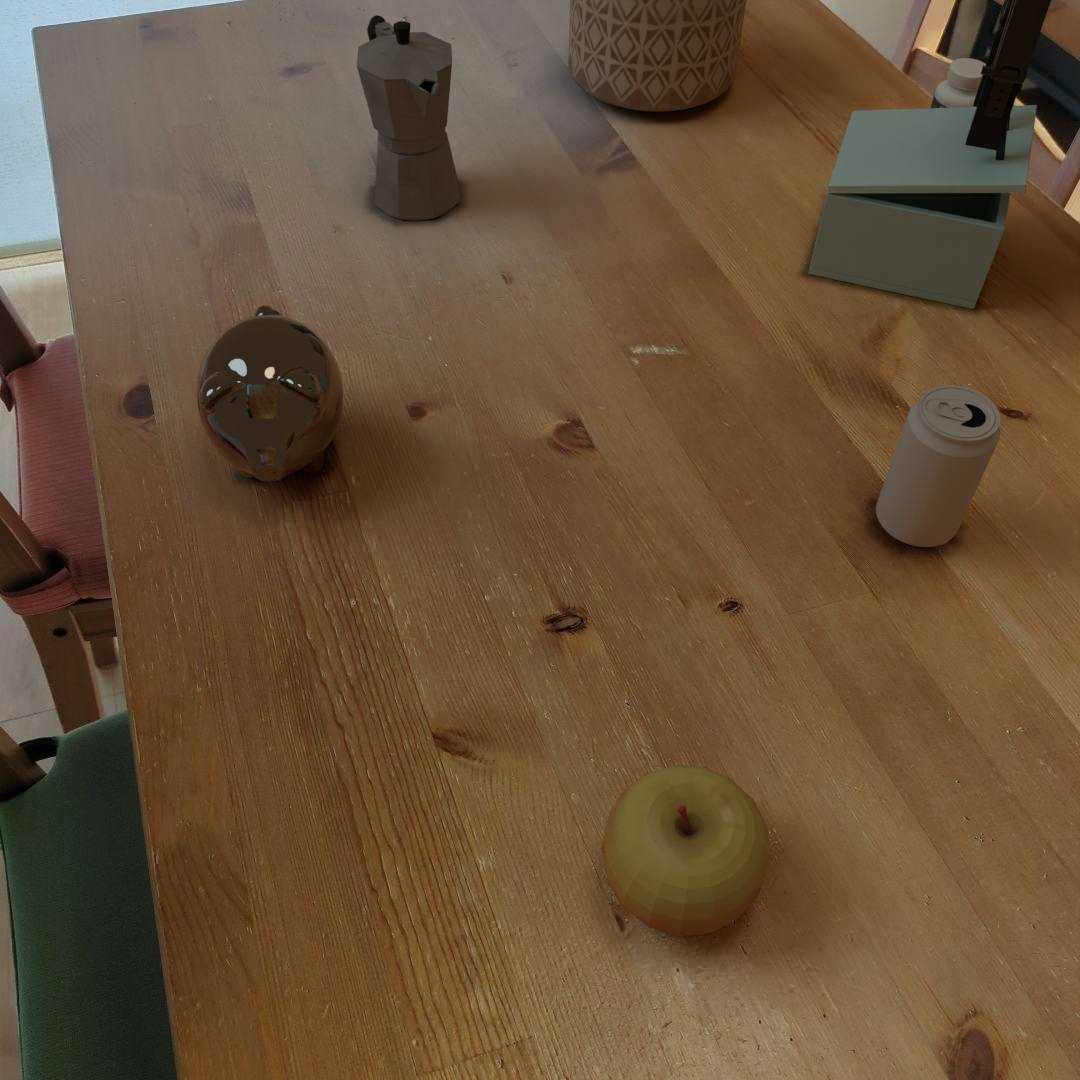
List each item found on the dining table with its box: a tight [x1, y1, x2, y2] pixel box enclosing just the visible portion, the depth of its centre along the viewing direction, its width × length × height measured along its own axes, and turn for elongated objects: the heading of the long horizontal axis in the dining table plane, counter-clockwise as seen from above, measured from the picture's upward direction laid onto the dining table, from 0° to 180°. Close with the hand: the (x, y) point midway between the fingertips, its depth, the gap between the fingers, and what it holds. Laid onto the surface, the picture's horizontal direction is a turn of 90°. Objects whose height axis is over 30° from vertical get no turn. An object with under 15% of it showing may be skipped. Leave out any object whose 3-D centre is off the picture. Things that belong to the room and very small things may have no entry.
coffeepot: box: [356, 14, 460, 222], centre depth 108 cm, size 15×9×18 cm, turn 26°
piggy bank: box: [195, 305, 344, 483], centre depth 87 cm, size 11×15×12 cm
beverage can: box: [875, 384, 1001, 548], centre depth 83 cm, size 6×6×12 cm
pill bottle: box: [930, 57, 986, 108], centre depth 117 cm, size 5×5×10 cm
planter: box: [567, 0, 748, 112], centre depth 123 cm, size 19×19×16 cm
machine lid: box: [827, 83, 1038, 194], centre depth 98 cm, size 16×14×9 cm
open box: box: [807, 191, 1011, 310], centre depth 106 cm, size 16×14×9 cm
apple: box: [601, 764, 771, 937], centre depth 66 cm, size 10×10×8 cm
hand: (985, 125), depth 98 cm, fingers closed on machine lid, 6 cm apart
